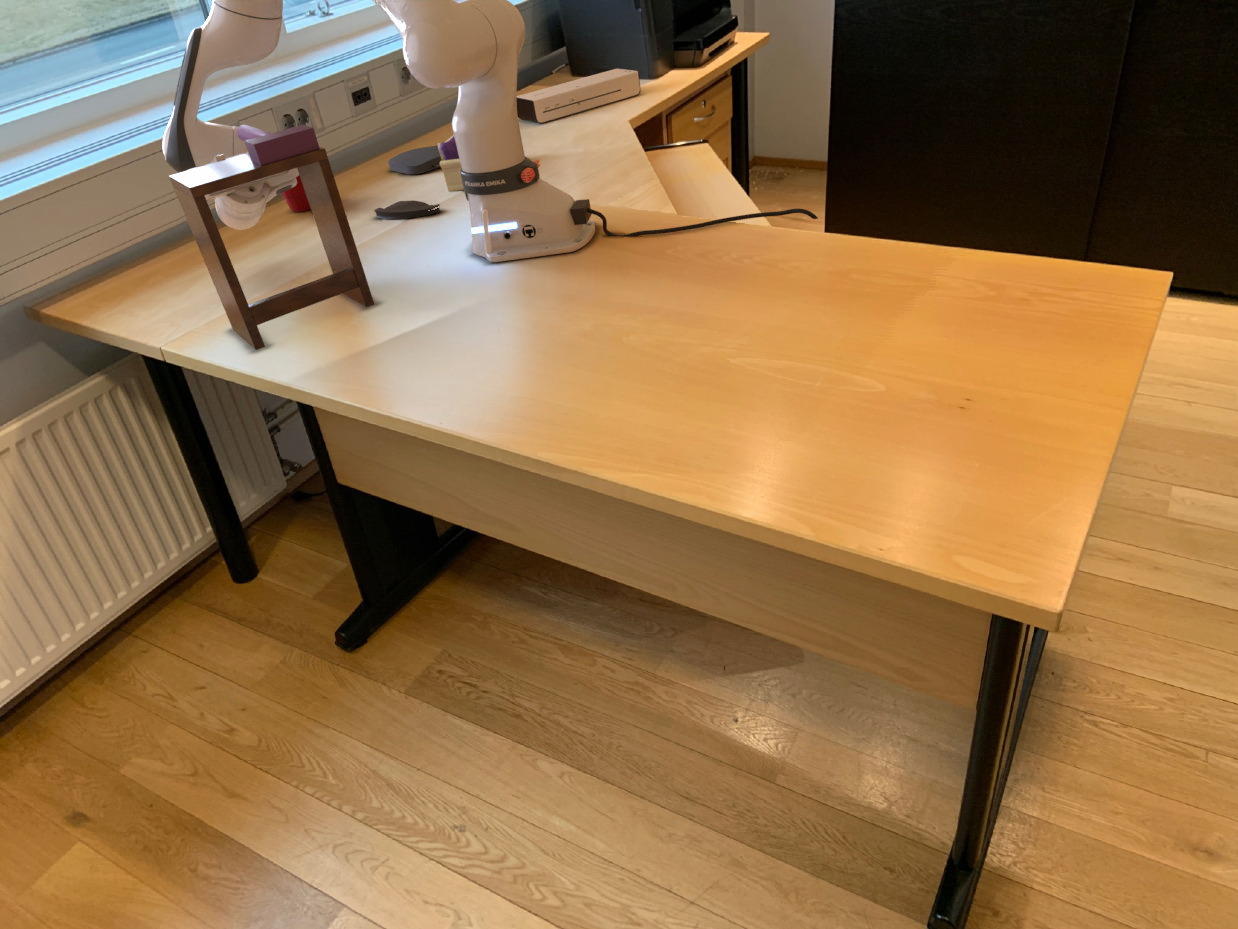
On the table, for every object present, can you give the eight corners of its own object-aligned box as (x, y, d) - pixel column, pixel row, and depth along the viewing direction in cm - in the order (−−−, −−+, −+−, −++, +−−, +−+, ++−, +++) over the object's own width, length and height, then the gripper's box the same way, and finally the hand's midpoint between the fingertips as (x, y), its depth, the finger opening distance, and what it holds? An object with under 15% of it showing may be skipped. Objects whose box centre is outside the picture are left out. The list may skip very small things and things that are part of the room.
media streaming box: (384, 170, 219) (381, 158, 217) (434, 153, 226) (431, 141, 224) (415, 177, 209) (411, 164, 207) (466, 159, 216) (463, 146, 215)
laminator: (537, 125, 236) (532, 100, 233) (515, 120, 245) (511, 96, 242) (641, 94, 249) (638, 70, 246) (617, 90, 259) (614, 67, 255)
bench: (346, 287, 153) (297, 139, 139) (374, 304, 145) (325, 148, 131) (233, 329, 144) (168, 175, 131) (256, 350, 136) (189, 187, 122)
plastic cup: (269, 215, 199) (249, 161, 193) (303, 199, 207) (285, 146, 200) (303, 217, 194) (284, 161, 188) (337, 200, 202) (320, 146, 195)
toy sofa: (483, 189, 192) (472, 140, 187) (446, 192, 194) (434, 144, 189) (511, 160, 209) (502, 115, 203) (477, 164, 211) (466, 119, 205)
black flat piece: (420, 222, 179) (418, 214, 178) (374, 218, 186) (372, 210, 185) (448, 208, 184) (446, 200, 183) (402, 204, 191) (400, 197, 190)
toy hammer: (220, 148, 142) (213, 129, 140) (274, 133, 146) (268, 114, 144) (261, 165, 127) (253, 144, 126) (319, 148, 131) (313, 127, 130)
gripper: (176, 183, 154) (176, 151, 141) (288, 150, 163) (298, 117, 150) (194, 217, 154) (195, 187, 142) (305, 183, 163) (315, 152, 151)
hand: (249, 151), depth 146 cm, fingers open, 8 cm apart
